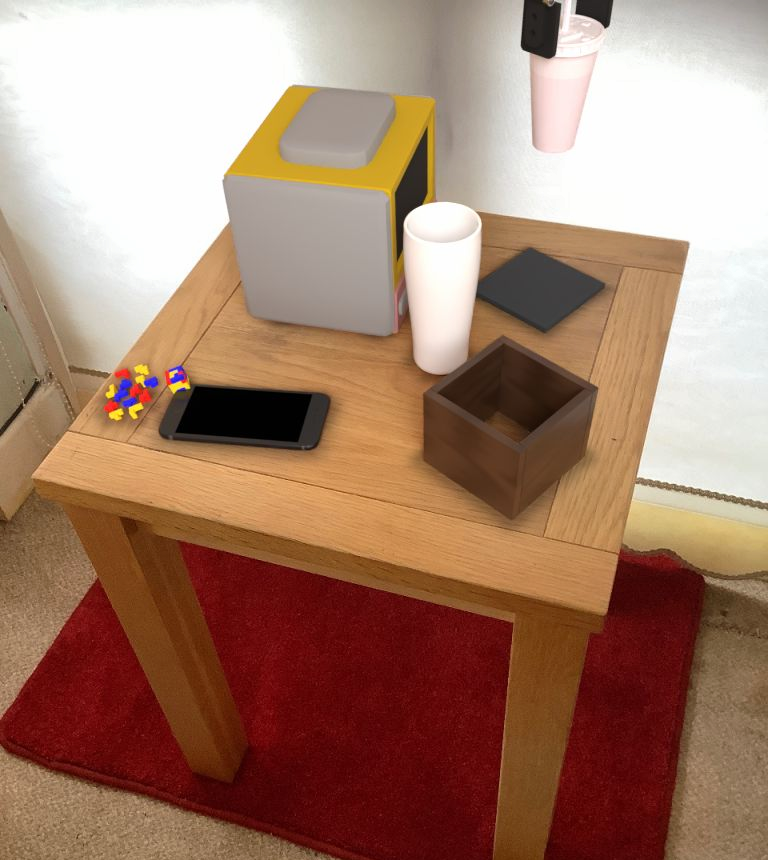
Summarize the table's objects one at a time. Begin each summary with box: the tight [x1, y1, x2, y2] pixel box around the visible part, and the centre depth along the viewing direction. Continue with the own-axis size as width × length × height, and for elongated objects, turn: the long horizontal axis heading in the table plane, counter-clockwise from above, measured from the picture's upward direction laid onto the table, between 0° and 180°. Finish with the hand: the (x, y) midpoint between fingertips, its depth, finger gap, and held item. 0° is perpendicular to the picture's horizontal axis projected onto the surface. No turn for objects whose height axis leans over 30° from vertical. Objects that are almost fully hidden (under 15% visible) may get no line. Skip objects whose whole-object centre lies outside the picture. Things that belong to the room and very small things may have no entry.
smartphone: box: [157, 383, 332, 452], centre depth 80 cm, size 7×15×1 cm, turn 82°
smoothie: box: [529, 0, 606, 154], centre depth 73 cm, size 6×6×14 cm
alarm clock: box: [221, 84, 438, 338], centre depth 86 cm, size 20×16×18 cm
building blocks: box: [103, 364, 191, 421], centre depth 83 cm, size 6×8×2 cm
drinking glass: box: [403, 201, 483, 376], centre depth 79 cm, size 7×7×15 cm
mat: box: [476, 247, 606, 333], centre depth 91 cm, size 10×10×1 cm
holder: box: [422, 334, 599, 521], centre depth 73 cm, size 10×10×8 cm
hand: (565, 36), depth 71 cm, fingers closed on smoothie, 6 cm apart
